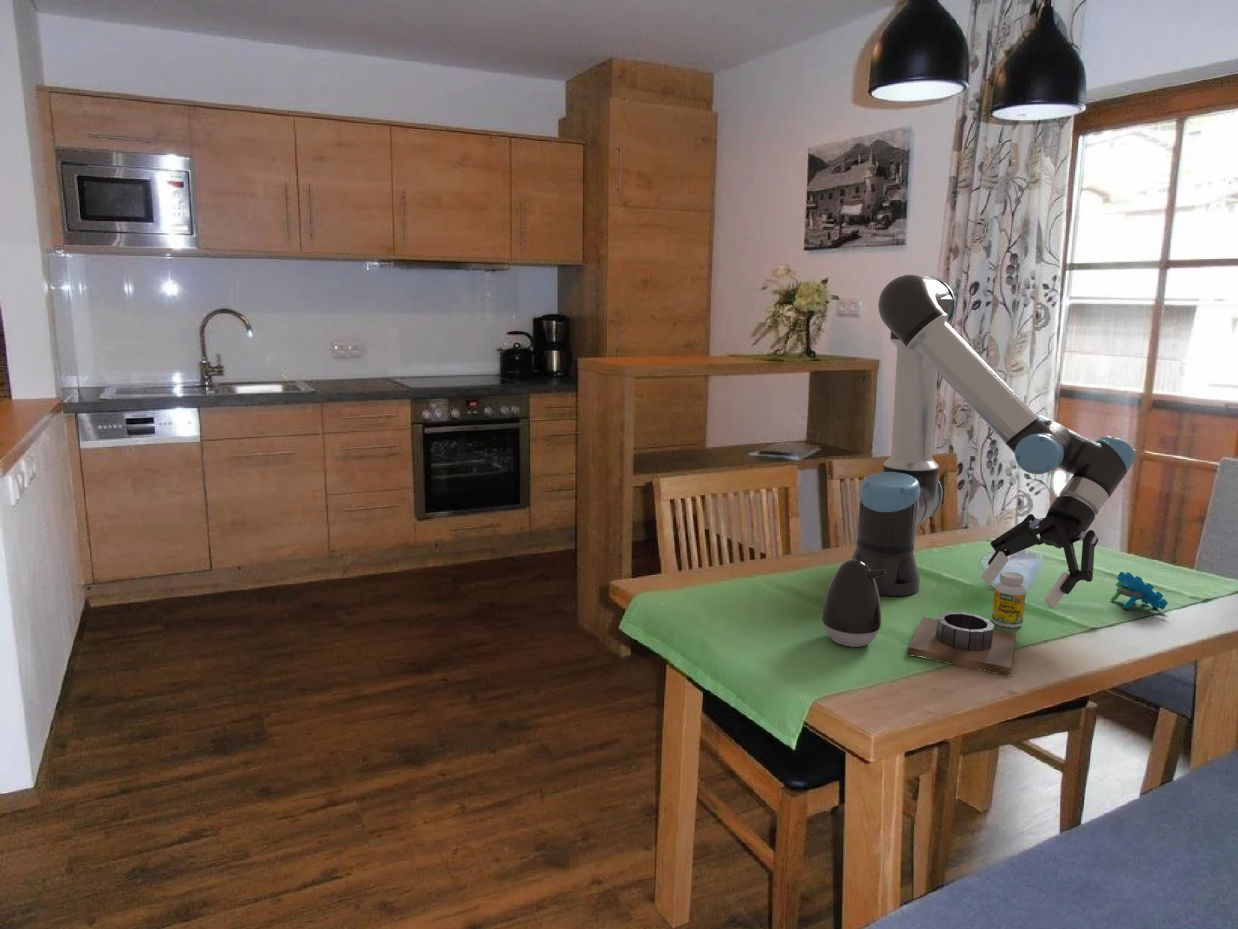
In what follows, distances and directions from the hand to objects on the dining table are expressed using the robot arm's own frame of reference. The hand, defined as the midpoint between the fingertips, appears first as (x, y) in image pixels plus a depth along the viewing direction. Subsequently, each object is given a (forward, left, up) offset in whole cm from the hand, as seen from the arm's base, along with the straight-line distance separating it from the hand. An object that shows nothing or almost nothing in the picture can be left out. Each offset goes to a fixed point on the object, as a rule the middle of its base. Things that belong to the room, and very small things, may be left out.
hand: (1016, 592), depth 157 cm
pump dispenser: (-25, -24, -6) cm, 35 cm away
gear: (+22, +23, -7) cm, 32 cm away
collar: (-7, -17, -5) cm, 19 cm away
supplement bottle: (-1, 0, -6) cm, 7 cm away
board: (-7, -17, -6) cm, 19 cm away
